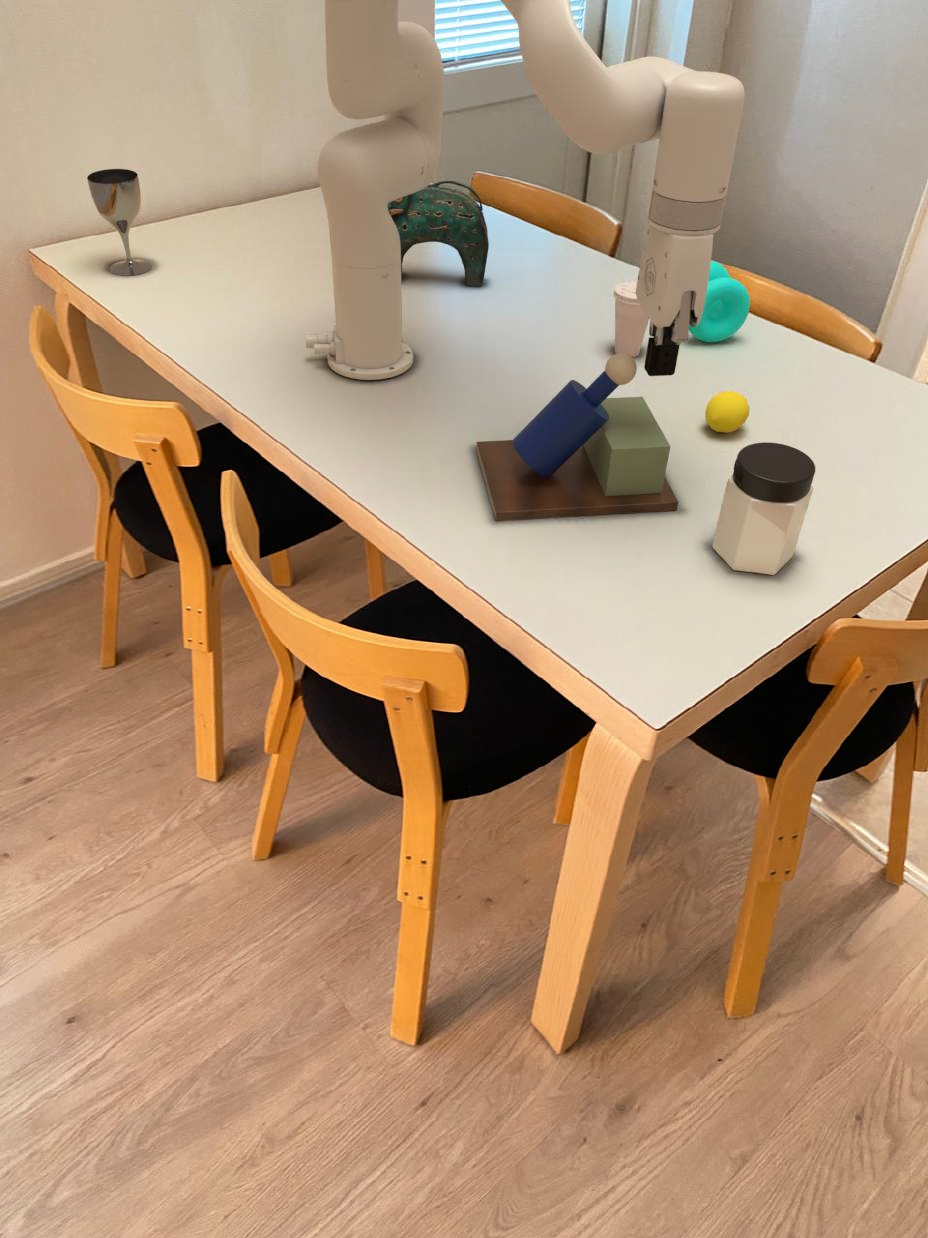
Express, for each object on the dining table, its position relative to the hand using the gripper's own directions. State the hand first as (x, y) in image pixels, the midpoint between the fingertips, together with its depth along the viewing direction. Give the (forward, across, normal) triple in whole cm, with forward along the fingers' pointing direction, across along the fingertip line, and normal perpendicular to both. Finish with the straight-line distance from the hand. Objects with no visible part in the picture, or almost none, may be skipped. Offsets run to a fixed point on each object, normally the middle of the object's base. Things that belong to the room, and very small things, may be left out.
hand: (659, 372), depth 113 cm
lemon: (+14, -10, +14) cm, 22 cm away
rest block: (+13, 0, -3) cm, 13 cm away
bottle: (+13, 0, -10) cm, 16 cm away
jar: (+14, +17, +8) cm, 24 cm away
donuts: (+14, -40, +21) cm, 47 cm away
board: (+14, 0, -9) cm, 17 cm away
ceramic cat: (+14, -64, -20) cm, 69 cm away
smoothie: (+14, -34, +7) cm, 38 cm away
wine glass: (+14, -73, -71) cm, 103 cm away
